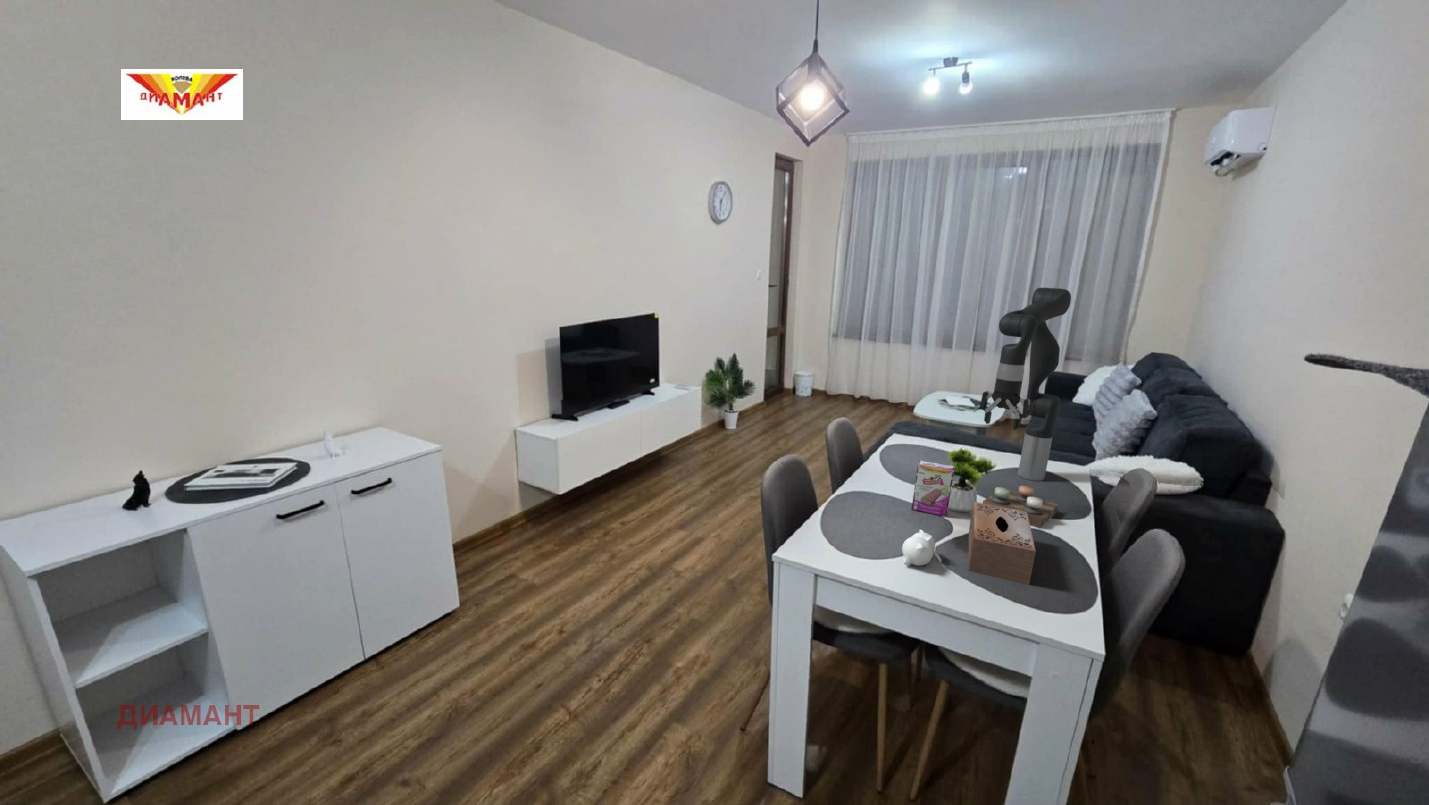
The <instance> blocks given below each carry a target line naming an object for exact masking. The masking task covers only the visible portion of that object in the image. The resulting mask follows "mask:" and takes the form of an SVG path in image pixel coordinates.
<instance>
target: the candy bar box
mask: <svg viewBox="0 0 1429 805" xmlns="http://www.w3.org/2000/svg"><path fill="white" fill-rule="evenodd" d="M916 468H917V469H916V476H915V482H914V490H913V496H912V502H911V510H912V511H916V512H921V513H924V512H925V513H926V514H929V513H930V515H934V514H935V516H939V517H944V518H946V517H947V515H948V510H949V505H950V498H951V493H952V487H953V480H954V473H955V468H956V467H955V465H948V464H941V463H937V462H932V461H925V460H919V462H918V464H917V467H916Z"/></svg>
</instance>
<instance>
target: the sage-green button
mask: <svg viewBox="0 0 1429 805" xmlns="http://www.w3.org/2000/svg"><path fill="white" fill-rule="evenodd" d="M1010 491H1011V490H1010V489H1008V488H1006V487H1002V486H996V487H995V488H994V493H993V494H995V495H996V496H998V497H1001V498H1008V497H1009V493H1010Z"/></svg>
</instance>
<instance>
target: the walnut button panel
mask: <svg viewBox="0 0 1429 805" xmlns="http://www.w3.org/2000/svg"><path fill="white" fill-rule="evenodd" d="M1027 497H1033V496H1024V495H1021V494H1019V493H1018V492H1016V491H1013V490H1010V493H1009V497H1008V498H1001V497H998V496H996V495H995V494H994V493H992V494H991V495H990V496H988V497H987V498H985V499H984V500H983V501H982V503H983V504H989V505H994V506H999V507H1005V508H1010V509H1016V510H1021V511H1026V512H1027V514H1028V518H1029V523H1030V527H1031V526H1032V527H1035V528H1038V529H1041V528H1042V527H1044V525H1046V524H1047V522H1049V521H1050V520H1051V519H1052V518H1053V517H1054V516H1055V515H1056V514H1057V512H1058V506H1059V504H1057V503H1054V502H1049V501H1048V500H1047V501H1046V500H1044V499H1042V500H1043V503H1042V507H1041V508H1034V507H1030V506H1028V505H1027V504H1026V502H1027ZM1049 519H1050V520H1049Z"/></svg>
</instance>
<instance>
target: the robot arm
mask: <svg viewBox="0 0 1429 805" xmlns="http://www.w3.org/2000/svg"><path fill="white" fill-rule="evenodd" d="M1071 302H1072V294H1071V292H1070V291H1069V290H1068V289H1065V288H1059V287H1058V288H1056V287H1055V288H1054V287H1037V288H1036V289H1035V290H1034V292H1033V295H1032V298H1031V304H1029V305H1027V306H1025V307H1024V308H1023V309H1019V310H1013V311H1009V312H1008V313H1005V314H1004V315H1003V316H1002V317H1001V318H1000V320H999V323H998V330H999V332H1000V334H1002V335H1004V336H1007V337H1012V338H1013V337H1014V338H1020V340H1019V341H1018V342H1017V343H1016V342H1015V343H1007V344H1004V345H1003V346H1002V347H1001V351H1000V358H999V364H998V366H997V370H996V377H995V382H994V388H993V392H990V391H988V390H986V391H984V392H983V393H982V396H981V400H980V405H979V409H980V410H982V411H984V419H983V420H984V421H983V422H985V424H986V425H988V424H990V423H991V421H992V420H991V419H992V411H993V410H994V409H995V408H996V407H997V408H998V409H1004V410H1010V411H1011V413H1013V415H1014V422H1013V427H1012V430H1013V431H1016V430H1018V429H1019V428H1020V427H1021V423H1022V420H1023V419H1026V418H1028V417H1036V418H1038V419H1039V418H1040V419H1044V422H1041V423H1033V424H1032V423H1031V424H1028V425H1027V426H1026V428H1025V431H1024V437H1023V443H1022V447H1021V448H1022V449H1021V453H1020V454H1021V455H1020V459H1019V465H1018V471H1017V475H1018V476H1019V477H1021V478H1023V479H1025V480H1029V481H1037V482H1038V481H1044V480H1045V477H1046V472H1047V467H1048V461H1049V457H1050V452H1051V447H1052V443H1053V442H1052V441H1053V436H1054V432H1055V428H1056V422H1057V419H1058V417H1059V416H1058V415H1059V412H1060V408H1061V398H1060V397H1059V396H1058V395H1057V396H1056V395H1053V394H1049V393H1048V394H1047V393H1042V392H1040V387H1041V385H1043V383H1044V382H1045V380H1047V379H1048V377H1050V376H1051V375H1052V374H1053V373H1054V372H1055V371H1056V369H1057V368H1058V367H1059V364H1060V363H1059V362H1060V352H1061V351H1060V349H1061V348H1060V344H1059V343H1058V341H1057V339H1056V337H1055V336H1054V335H1053V333H1052V332H1051V330H1050V329H1049V326H1048V324H1047V321H1048V320H1051V319H1054V318H1057V317H1060V316H1061V317H1062V316H1063V315H1064V314H1065V315H1066V313H1067V312H1068V310H1069V308H1070V305H1071ZM1029 348H1030V352H1029V375H1028V376H1029V377H1028V385H1027V392H1026V398H1021V392H1022V385H1023V380H1024V374H1025V365H1026V358H1027V353H1028V350H1029ZM990 398H992V400H993V402H992V403H991V404H990V405H988V401H989V399H990ZM1019 403H1020V404H1021V406H1022V412H1021V411H1020V408H1019V405H1018V404H1019ZM987 405H988V406H987Z"/></svg>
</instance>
